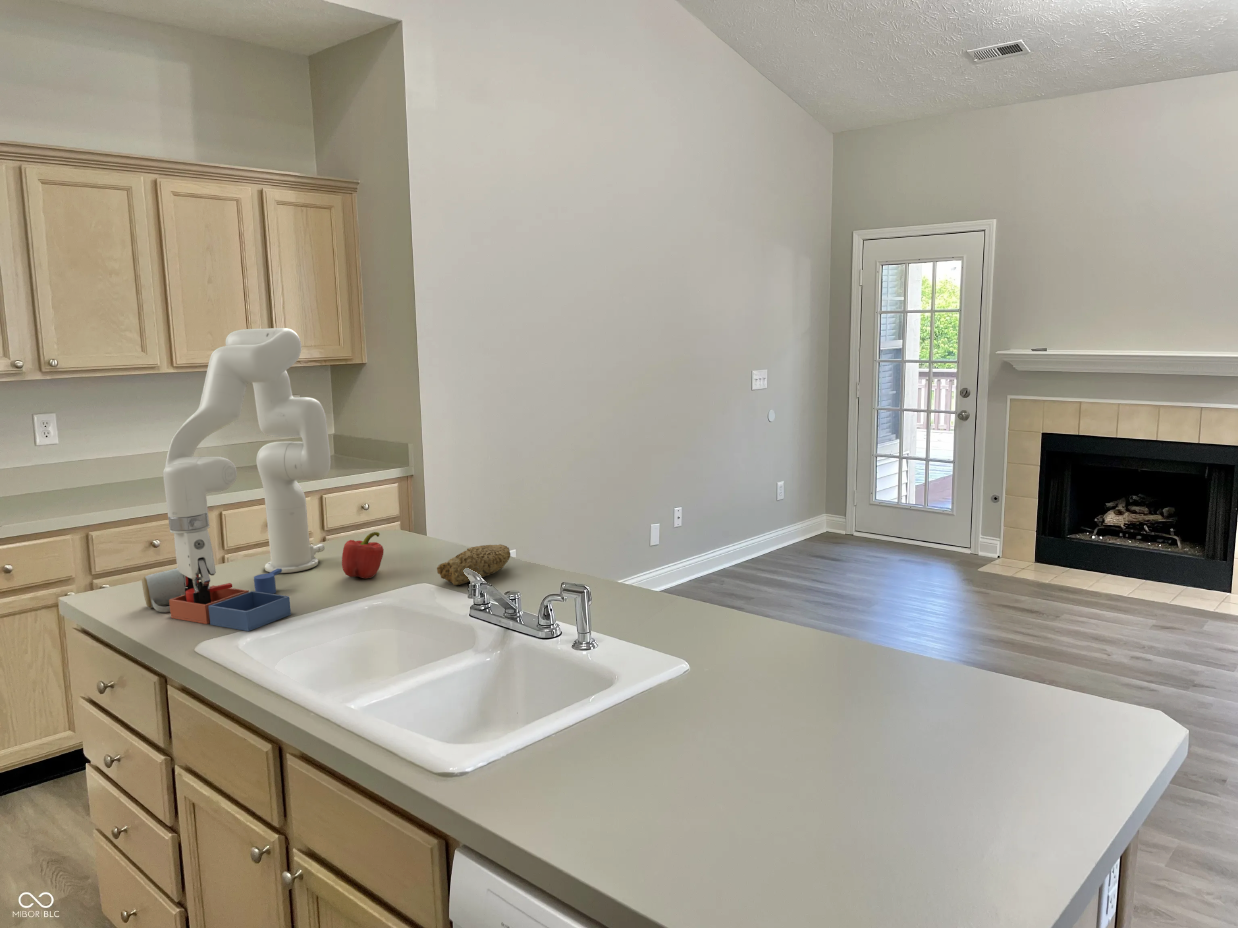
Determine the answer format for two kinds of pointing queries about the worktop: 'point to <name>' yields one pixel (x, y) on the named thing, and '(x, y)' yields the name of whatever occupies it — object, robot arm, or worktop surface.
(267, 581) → the blue scoop
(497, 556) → the sponge
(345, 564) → the vegetable
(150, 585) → the ceramic mug
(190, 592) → the red scoop
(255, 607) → the blue bin
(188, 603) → the red bin
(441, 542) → the worktop surface
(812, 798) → the worktop surface
